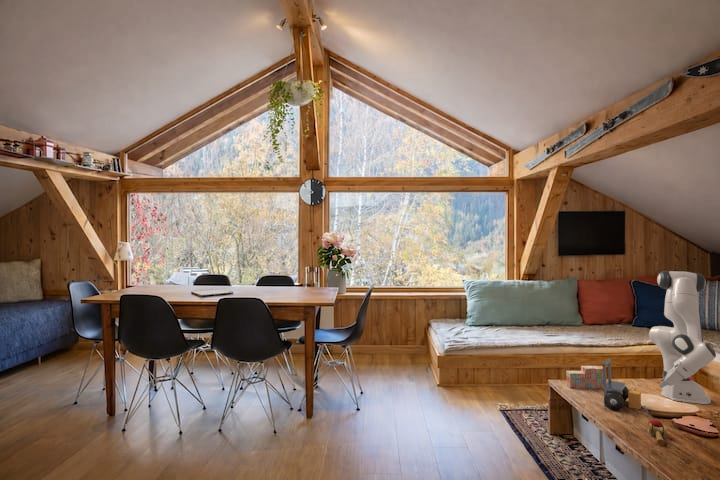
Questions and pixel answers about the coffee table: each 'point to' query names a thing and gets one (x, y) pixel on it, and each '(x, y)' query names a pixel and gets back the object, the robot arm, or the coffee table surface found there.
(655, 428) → the kendama
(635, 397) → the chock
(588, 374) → the stack of blocks
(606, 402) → the trolley
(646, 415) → the coffee table surface
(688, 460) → the coffee table surface
